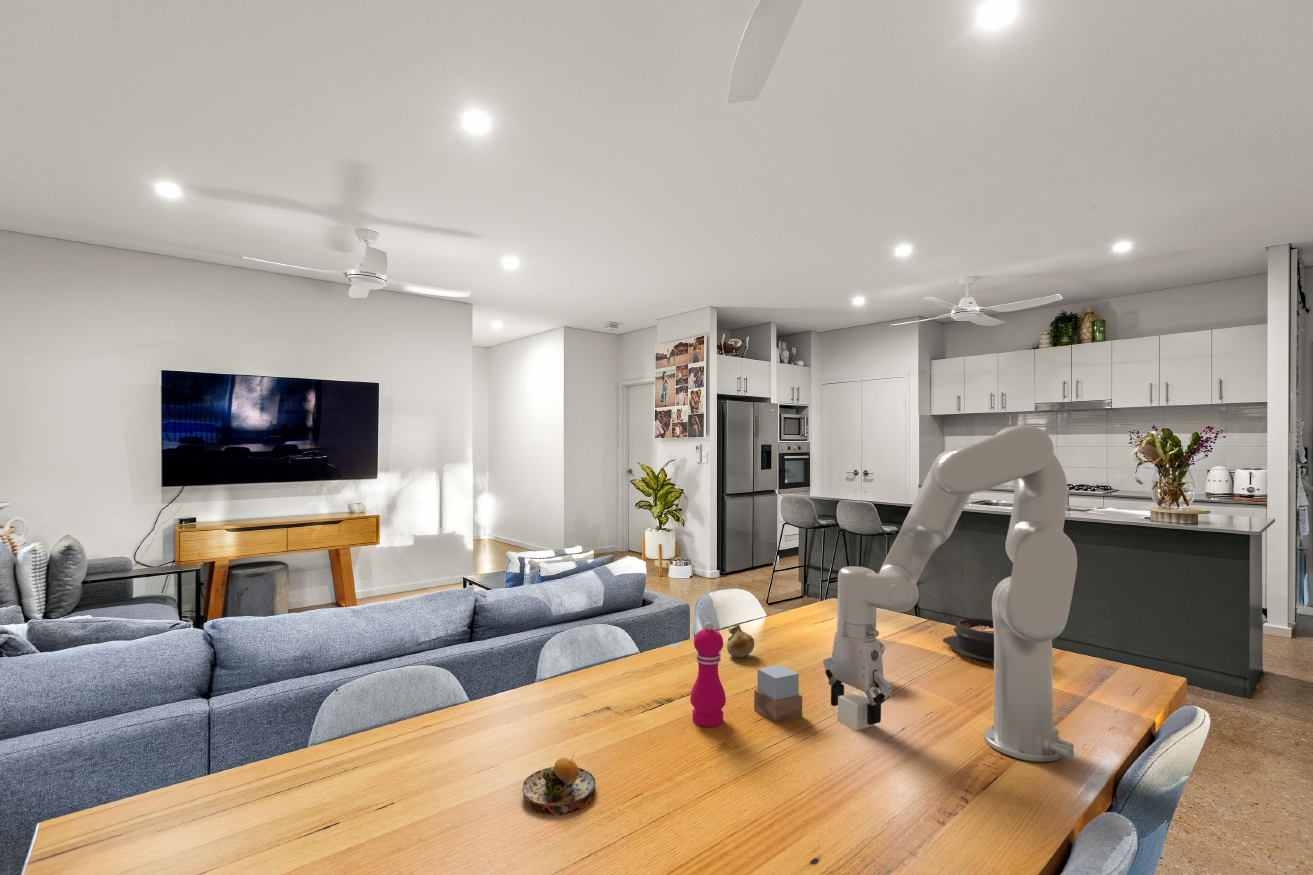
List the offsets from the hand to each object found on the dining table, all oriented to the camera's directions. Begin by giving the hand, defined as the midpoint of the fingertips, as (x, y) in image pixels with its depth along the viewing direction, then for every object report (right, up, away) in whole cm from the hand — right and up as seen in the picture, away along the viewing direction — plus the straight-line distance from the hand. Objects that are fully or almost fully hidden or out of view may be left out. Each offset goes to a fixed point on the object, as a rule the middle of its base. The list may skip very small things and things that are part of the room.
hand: (855, 713), depth 128 cm
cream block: (0, -2, 0) cm, 2 cm away
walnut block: (-15, -2, +4) cm, 16 cm away
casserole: (+48, -3, +41) cm, 63 cm away
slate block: (-15, +3, +4) cm, 16 cm away
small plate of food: (-56, -2, -27) cm, 62 cm away
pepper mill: (-30, -2, 0) cm, 30 cm away
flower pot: (+10, -2, +24) cm, 26 cm away
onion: (-18, -2, +39) cm, 43 cm away
